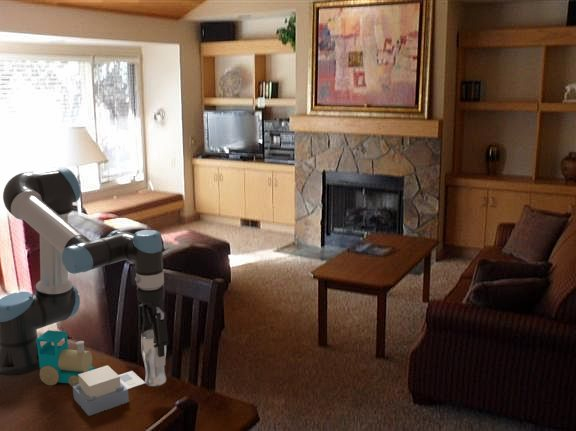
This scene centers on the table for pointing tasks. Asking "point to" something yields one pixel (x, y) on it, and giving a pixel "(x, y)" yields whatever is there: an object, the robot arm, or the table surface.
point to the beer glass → (151, 360)
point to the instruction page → (130, 380)
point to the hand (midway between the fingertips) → (154, 360)
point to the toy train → (62, 359)
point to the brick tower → (99, 390)
